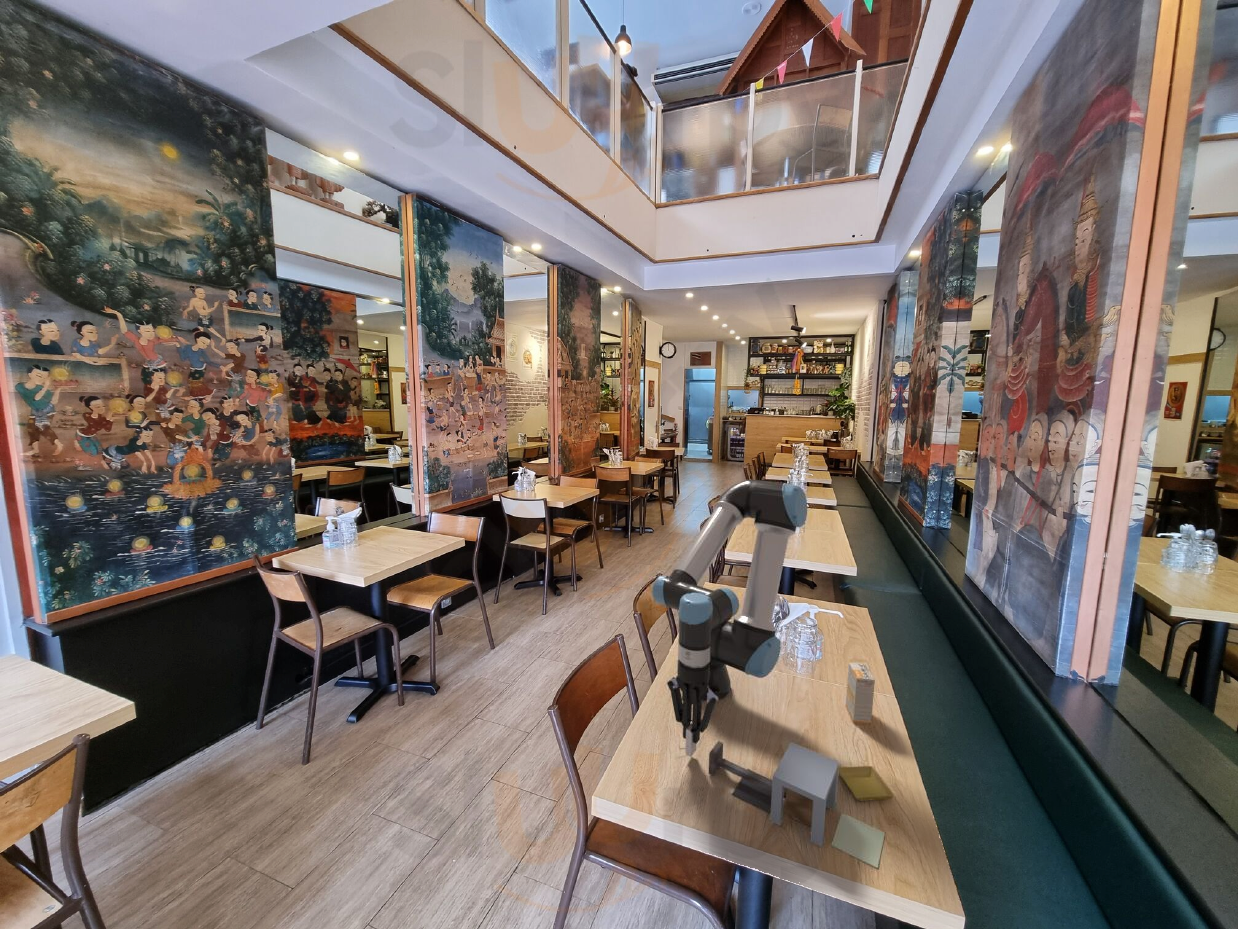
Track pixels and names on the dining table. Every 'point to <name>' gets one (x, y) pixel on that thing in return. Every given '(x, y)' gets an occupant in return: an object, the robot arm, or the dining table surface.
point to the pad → (859, 840)
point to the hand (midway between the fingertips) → (690, 752)
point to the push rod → (763, 785)
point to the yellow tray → (865, 783)
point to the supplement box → (860, 693)
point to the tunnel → (806, 785)
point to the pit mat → (753, 794)
